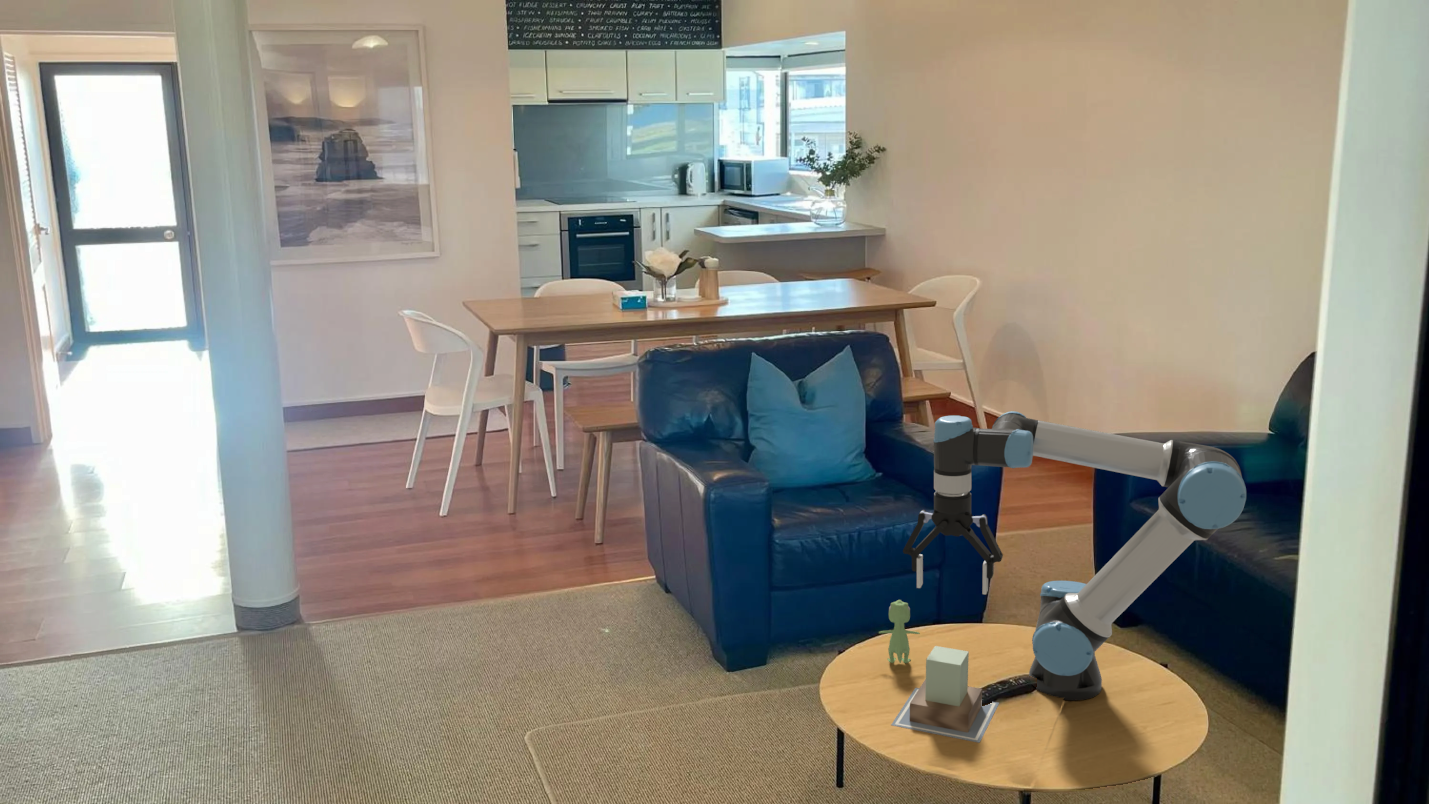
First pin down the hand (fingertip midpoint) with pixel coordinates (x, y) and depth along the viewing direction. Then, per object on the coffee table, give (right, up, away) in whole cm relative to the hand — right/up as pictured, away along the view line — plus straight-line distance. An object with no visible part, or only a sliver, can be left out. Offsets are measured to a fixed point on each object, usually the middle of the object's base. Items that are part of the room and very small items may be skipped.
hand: (952, 589), depth 246 cm
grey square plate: (-2, -26, -3) cm, 26 cm away
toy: (-8, -21, +22) cm, 31 cm away
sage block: (-2, -21, -4) cm, 22 cm away
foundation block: (-2, -25, -3) cm, 26 cm away
